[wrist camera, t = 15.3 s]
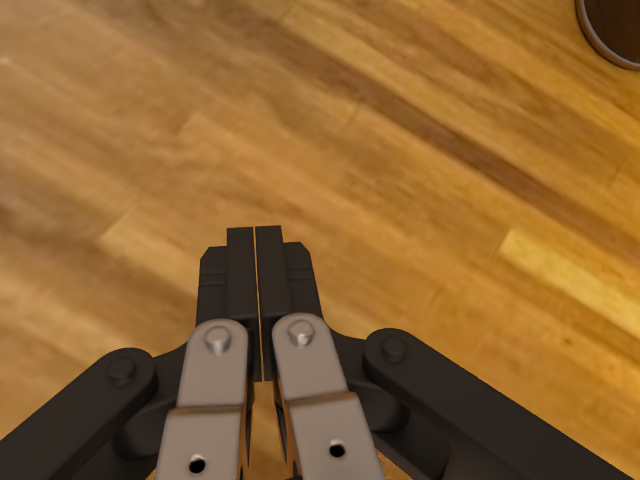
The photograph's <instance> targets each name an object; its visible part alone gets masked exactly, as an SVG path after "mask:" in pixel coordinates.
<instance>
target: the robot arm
mask: <svg viewBox="0 0 640 480" xmlns="http://www.w3.org/2000/svg"><path fill="white" fill-rule="evenodd" d="M576 7H577V14H578V18H579V21H580V24H581V27H582V29H583V31H584V33H585V35H586V36H587V38H588V40H589V41H590V42H591V44H592V45H593V46H594V47H595V49H596V50H597V51H598V52H599V53H601V54H602V55H603V56H604V57H605V58H607V59H608V60H610V61H611V62H613V63H615V64H617V65H619V66H621V67H624V68H627V69H631V70H638V71H640V0H576ZM255 235H256V255H257V276H258V292H259V307H260V322H261V337H262V352H263V366H264V381H273V392H274V410H275V416H276V422H277V428H278V434H279V440H280V445H281V451H282V457H283V463H284V469H285V475H286V480H386V478H385V475H384V472H383V469H382V466H381V463H380V460H379V457H378V454H377V451H376V449H378V450H379V451H380V452H381V453H382V454H384V455H385V456H386V457H387V458H388V459H390V460H391V461H392V462H393V463H394V464H396V465H397V466H398V467H399V468H400V469H402V470H403V471H404V472H405V473H406V474H408V475H409V476H410V477H411V478H412V479H414V480H634V479H633V478H631V477H629V476H628V475H626V474H625V473H623V472H622V471H620V470H619V469H617V468H616V467H614V466H613V465H611V464H609V463H608V462H606V461H605V460H603V459H602V458H600V457H599V456H597V455H596V454H594V453H593V452H591V451H590V450H588V449H586V448H585V447H583V446H582V445H580V444H579V443H577V442H576V441H574V440H573V439H571V438H570V437H568V436H566V435H565V434H563V433H562V432H560V431H559V430H557V429H556V428H554V427H553V426H551V425H550V424H548V423H547V422H545V421H543V420H542V419H540V418H539V417H537V416H536V415H534V414H533V413H531V412H530V411H528V410H527V409H525V408H523V407H522V406H520V405H519V404H517V403H516V402H514V401H513V400H511V399H510V398H508V397H507V396H505V395H503V394H502V393H500V392H499V391H497V390H496V389H494V388H493V387H491V386H490V385H488V384H487V383H485V382H484V381H482V380H480V379H479V378H477V377H476V376H474V375H473V374H471V373H470V372H468V371H467V370H465V369H464V368H462V367H460V366H459V365H457V364H456V363H454V362H453V361H451V360H450V359H448V358H447V357H445V356H444V355H442V354H441V353H439V352H437V351H436V350H434V349H433V348H431V347H430V346H428V345H427V344H425V343H424V342H422V341H421V340H419V339H417V338H416V337H414V336H413V335H411V334H410V333H408V332H406V331H403V330H400V329H395V328H384V329H380V330H377V331H374V332H373V333H371V334H370V335H369V336H368V337H367V339H366V340H363V339H357V338H352V337H347V336H344V335H341V334H339V333H337V332H335V331H334V330H333V329H331V328H330V327H329V326H328V325H327V324H326V322H325V320H324V318H323V315H322V310H321V306H320V301H319V296H318V291H317V286H316V281H315V276H314V271H313V267H312V261H311V256H310V252H309V251H308V250H307V249H306V248H305V247H304V246H303V244H302V243H301V242H288V243H283V237H282V230H281V225H276V226H256V227H255ZM199 274H200V275H199V286H198V300H197V315H196V326H195V329H194V330H193V331H192V332H191V334H190V336H189V338H188V341H187V342H186V343H184V344H183V345H182V346H180V347H179V348H177V349H175V350H173V351H170V352H168V353H165V354H162V355H159V356H156V357H153V358H152V356H151V355H150V354H149V353H148V352H146V351H144V350H142V349H138V348H122V349H118V350H114V351H112V352H109V353H108V354H106V355H104V356H103V357H101V358H100V359H99V360H97V361H96V362H95V363H94V364H93V365H91V366H90V367H89V368H88V369H87V370H85V371H84V372H83V373H82V374H80V375H79V376H78V377H77V378H76V379H74V380H73V381H72V382H71V383H70V384H68V385H67V386H66V387H65V388H64V389H62V390H61V391H60V392H59V393H58V394H56V395H55V396H54V397H53V398H51V399H50V400H49V401H48V402H47V403H45V404H44V405H43V406H42V407H41V408H39V409H38V410H37V411H36V412H35V413H33V414H32V415H31V416H30V417H28V418H27V419H26V420H25V421H24V422H22V423H21V424H20V425H19V426H18V427H16V428H15V429H14V430H13V431H12V432H10V433H9V434H8V435H7V436H5V437H4V438H3V439H2V440H1V441H0V480H145V479H146V478H147V477H148V476H149V475H150V474H151V473H152V471H153V470H154V469H155V468H156V472H155V477H154V480H250V468H251V446H252V424H253V404H254V400H255V389H254V382H262V374H261V354H260V333H259V314H258V298H257V283H256V267H255V252H254V236H253V227H239V228H227V246H218V247H209V248H208V249H207V250H206V252H205V253H204V255H203V256H202V258H201V259H200V271H199Z"/></svg>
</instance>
